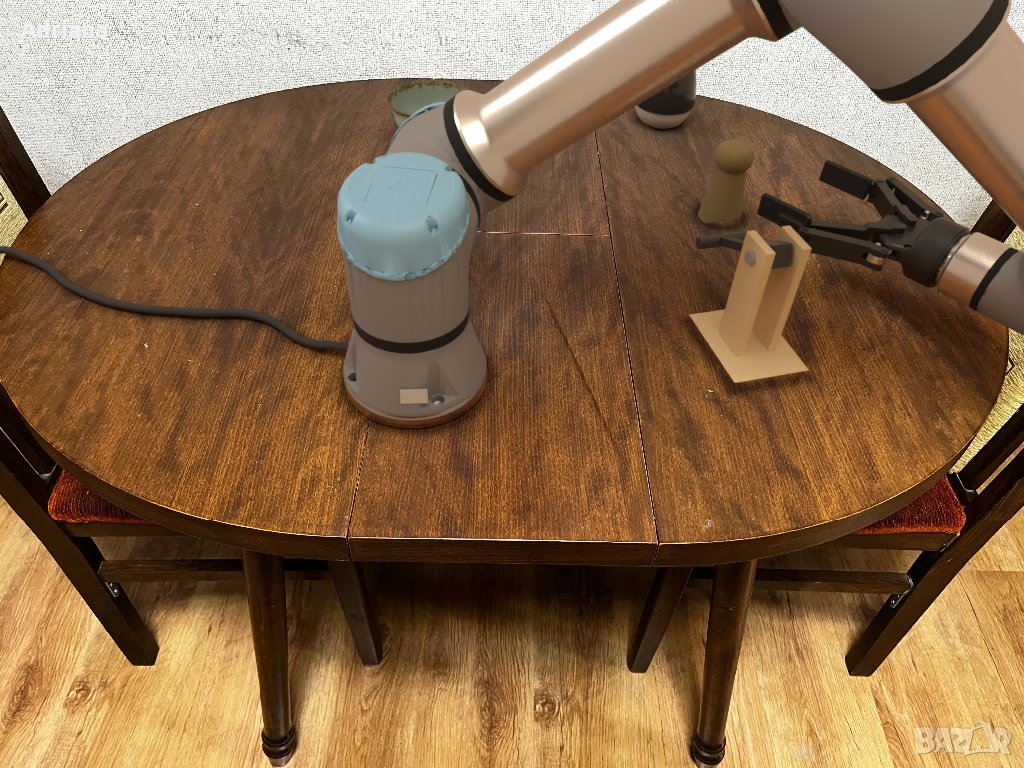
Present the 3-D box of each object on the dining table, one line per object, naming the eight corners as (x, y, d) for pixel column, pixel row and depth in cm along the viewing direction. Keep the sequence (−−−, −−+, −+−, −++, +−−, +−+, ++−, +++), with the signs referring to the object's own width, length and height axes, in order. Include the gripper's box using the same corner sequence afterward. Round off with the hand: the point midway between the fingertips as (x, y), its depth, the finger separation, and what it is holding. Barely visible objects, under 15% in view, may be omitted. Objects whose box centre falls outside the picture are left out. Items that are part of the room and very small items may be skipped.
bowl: (487, 134, 125) (487, 86, 120) (461, 172, 116) (460, 122, 110) (408, 122, 128) (405, 74, 122) (377, 159, 118) (372, 108, 113)
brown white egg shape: (699, 118, 132) (718, 26, 121) (676, 141, 125) (693, 46, 115) (646, 103, 135) (659, 13, 125) (620, 125, 129) (632, 31, 118)
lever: (695, 252, 89) (695, 232, 89) (741, 246, 91) (742, 226, 90) (754, 271, 77) (755, 248, 77) (807, 264, 79) (808, 241, 78)
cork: (741, 230, 106) (761, 157, 98) (697, 224, 107) (713, 151, 99) (740, 208, 110) (759, 136, 103) (698, 203, 111) (714, 131, 104)
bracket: (686, 322, 91) (712, 213, 81) (755, 312, 93) (789, 204, 83) (732, 390, 83) (767, 279, 72) (806, 378, 85) (850, 267, 74)
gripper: (882, 331, 82) (725, 245, 94) (989, 250, 94) (838, 182, 106) (909, 274, 77) (739, 190, 89) (1018, 196, 89) (856, 131, 101)
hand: (793, 186), depth 97 cm, fingers open, 13 cm apart
